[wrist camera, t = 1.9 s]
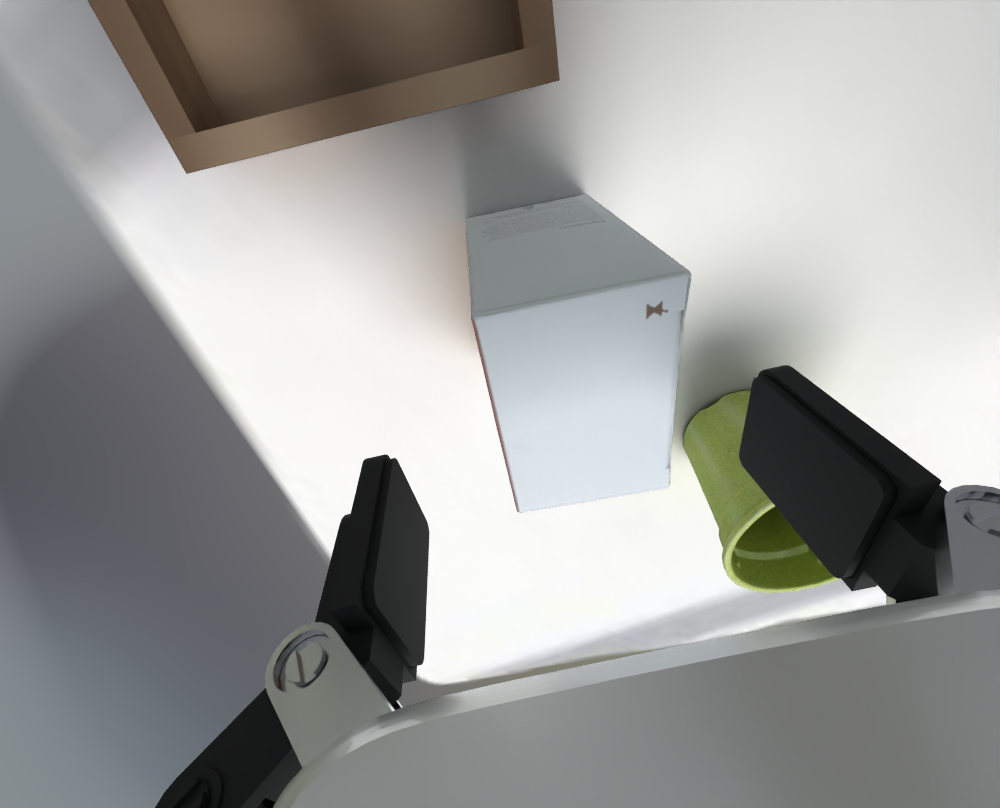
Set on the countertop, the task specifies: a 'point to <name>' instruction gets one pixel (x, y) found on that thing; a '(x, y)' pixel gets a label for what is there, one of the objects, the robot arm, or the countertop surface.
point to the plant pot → (746, 507)
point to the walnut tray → (318, 65)
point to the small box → (577, 349)
